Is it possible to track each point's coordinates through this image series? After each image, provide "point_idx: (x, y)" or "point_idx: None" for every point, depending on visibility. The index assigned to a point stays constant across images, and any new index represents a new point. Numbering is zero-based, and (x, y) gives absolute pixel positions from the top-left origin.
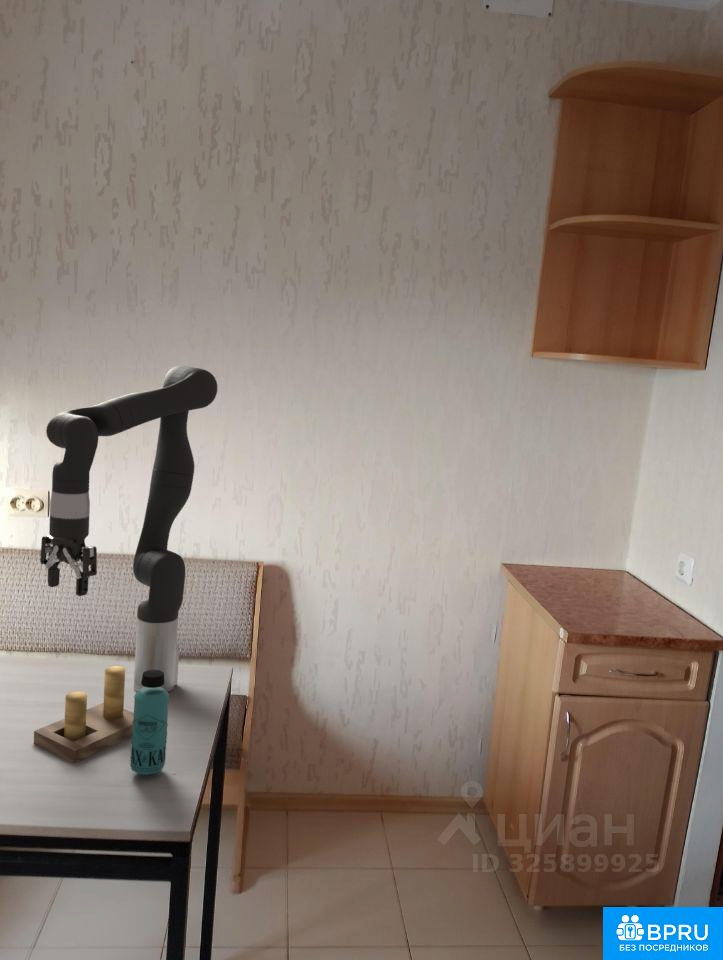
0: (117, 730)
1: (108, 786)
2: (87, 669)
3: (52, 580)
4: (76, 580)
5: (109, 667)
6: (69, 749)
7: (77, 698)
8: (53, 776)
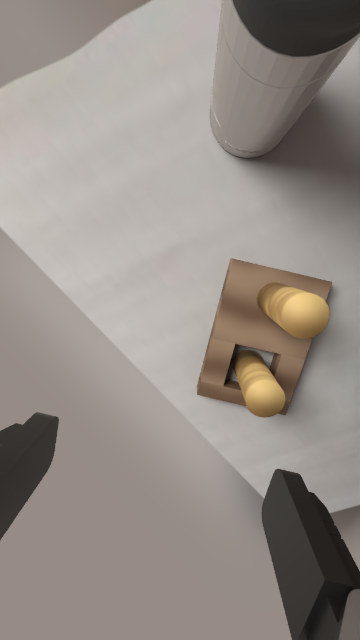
0: (309, 340)
1: (351, 431)
2: (82, 108)
3: (32, 482)
4: (288, 622)
5: (286, 311)
6: None
7: (273, 407)
8: (274, 439)
